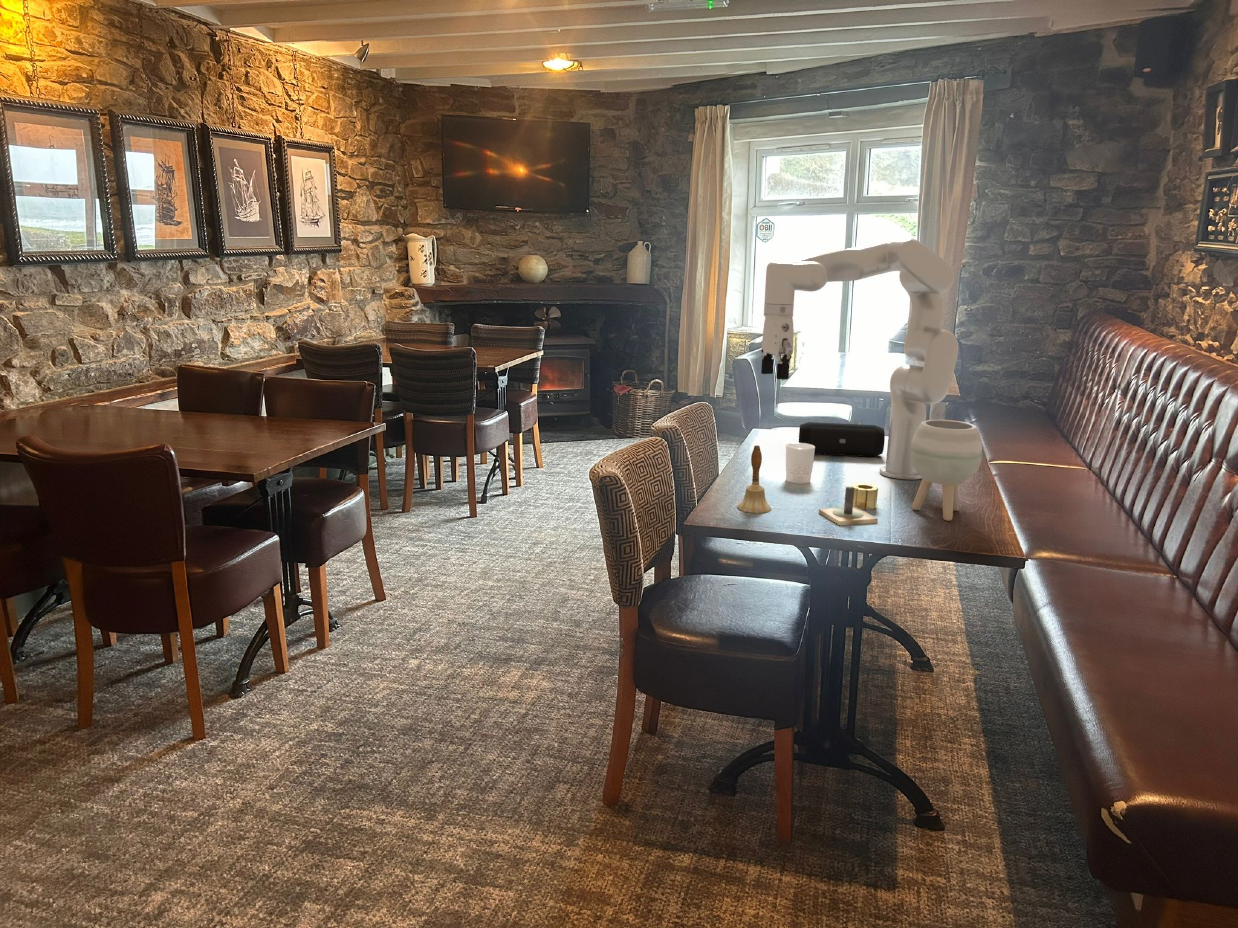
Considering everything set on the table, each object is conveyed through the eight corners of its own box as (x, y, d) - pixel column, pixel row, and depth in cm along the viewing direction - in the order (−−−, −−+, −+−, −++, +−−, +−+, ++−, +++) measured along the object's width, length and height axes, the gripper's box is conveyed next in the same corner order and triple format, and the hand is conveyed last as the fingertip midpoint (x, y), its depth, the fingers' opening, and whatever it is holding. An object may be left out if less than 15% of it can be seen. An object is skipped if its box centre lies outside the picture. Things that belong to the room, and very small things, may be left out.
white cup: (812, 485, 233) (815, 449, 231) (783, 483, 235) (785, 448, 232) (812, 478, 241) (814, 443, 238) (783, 476, 242) (786, 442, 240)
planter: (968, 507, 215) (978, 420, 210) (979, 526, 200) (991, 433, 195) (901, 502, 219) (910, 416, 213) (907, 520, 204) (917, 428, 198)
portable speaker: (799, 456, 267) (801, 425, 265) (797, 449, 277) (799, 419, 274) (883, 460, 264) (886, 428, 261) (878, 453, 273) (881, 422, 271)
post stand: (855, 510, 211) (857, 481, 209) (877, 522, 201) (880, 492, 200) (818, 512, 208) (821, 483, 206) (839, 525, 199) (841, 494, 197)
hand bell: (763, 515, 206) (767, 451, 202) (731, 509, 210) (735, 446, 206) (776, 507, 212) (780, 444, 209) (745, 501, 217) (748, 440, 213)
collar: (867, 502, 218) (869, 483, 217) (880, 508, 213) (882, 489, 211) (846, 503, 217) (848, 484, 215) (859, 510, 211) (860, 490, 210)
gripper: (806, 313, 214) (802, 381, 218) (778, 308, 230) (774, 371, 234) (779, 313, 212) (774, 381, 216) (752, 308, 228) (748, 372, 232)
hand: (774, 376), depth 225 cm, fingers open, 9 cm apart
